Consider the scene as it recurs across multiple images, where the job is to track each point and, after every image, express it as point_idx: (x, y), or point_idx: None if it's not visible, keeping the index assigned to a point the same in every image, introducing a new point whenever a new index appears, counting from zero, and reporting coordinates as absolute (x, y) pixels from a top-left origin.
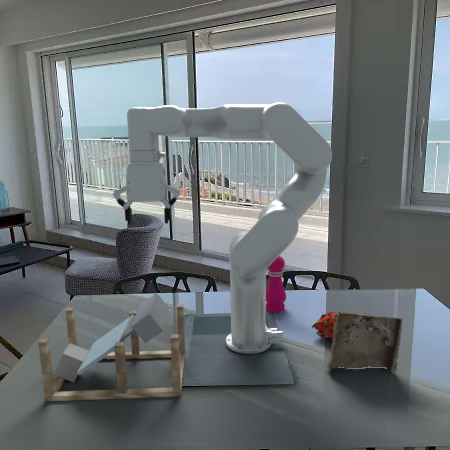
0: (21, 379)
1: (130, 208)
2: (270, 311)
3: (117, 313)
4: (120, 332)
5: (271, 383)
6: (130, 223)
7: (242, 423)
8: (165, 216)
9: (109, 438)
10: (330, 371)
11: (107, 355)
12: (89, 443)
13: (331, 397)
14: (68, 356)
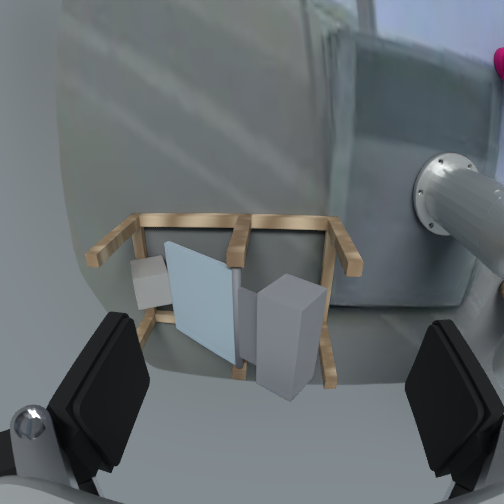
0: (93, 267)
1: (78, 424)
2: (500, 76)
3: (161, 18)
4: (226, 323)
5: (437, 304)
6: (148, 383)
7: (382, 363)
8: (423, 426)
9: (247, 374)
10: (500, 291)
11: (192, 226)
12: (229, 377)
13: (476, 327)
14: (148, 307)
